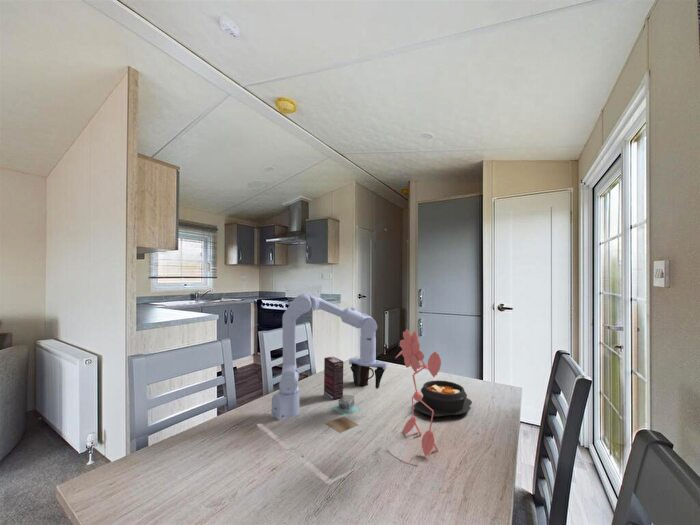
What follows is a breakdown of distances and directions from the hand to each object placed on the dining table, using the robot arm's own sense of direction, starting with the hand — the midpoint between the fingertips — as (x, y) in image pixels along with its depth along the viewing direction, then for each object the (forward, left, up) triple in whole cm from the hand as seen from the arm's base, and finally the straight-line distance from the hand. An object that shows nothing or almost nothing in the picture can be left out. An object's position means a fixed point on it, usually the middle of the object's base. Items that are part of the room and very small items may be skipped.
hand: (367, 386), depth 119 cm
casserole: (+25, -16, -10) cm, 31 cm away
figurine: (-6, -24, -10) cm, 27 cm away
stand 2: (-14, -2, -10) cm, 17 cm away
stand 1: (-5, +6, -10) cm, 13 cm away
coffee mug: (+18, +22, -10) cm, 30 cm away
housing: (-5, +6, -9) cm, 12 cm away
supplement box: (-1, +19, -10) cm, 22 cm away
